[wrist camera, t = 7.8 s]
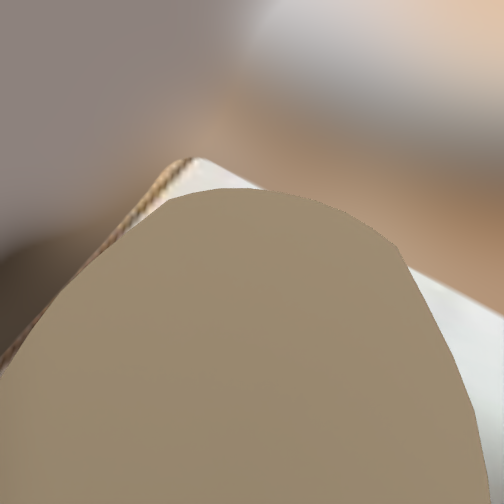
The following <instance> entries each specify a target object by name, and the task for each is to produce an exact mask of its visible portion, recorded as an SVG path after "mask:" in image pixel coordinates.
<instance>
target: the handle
mask: <svg viewBox="0 0 504 504" xmlns="http://www.w3.org/2000/svg"><path fill="white" fill-rule="evenodd" d="M0 504H491V502H490V493H489V484H488V476H487V471H486V466H485V461H484V456H483V452H482V447H481V442H480V437H479V432H478V427H477V422H476V417H475V412H474V409H473V406H472V404H471V401H470V399H469V396H468V394H467V391H466V388H465V386H464V383H463V381H462V378H461V375H460V373H459V370H458V368H457V365H456V363H455V360H454V357H453V355H452V353H451V351H450V349H449V347H448V345H447V343H446V341H445V339H444V337H443V335H442V333H441V331H440V329H439V327H438V325H437V323H436V321H435V319H434V317H433V315H432V313H431V311H430V309H429V307H428V305H427V303H426V301H425V299H424V297H423V296H422V294H421V292H420V290H419V288H418V286H417V284H416V282H415V281H414V279H413V277H412V275H411V273H410V271H409V269H408V267H407V265H406V264H405V262H404V260H403V258H402V256H401V254H400V253H399V250H398V248H397V247H396V246H395V245H394V244H393V243H391V242H390V241H388V240H387V239H386V238H385V237H383V236H382V235H381V234H379V233H378V232H377V231H375V230H374V229H373V228H371V227H369V226H368V225H366V224H364V223H363V222H361V221H359V220H358V219H356V218H354V217H353V216H351V215H349V214H348V213H346V212H343V211H340V210H338V209H335V208H333V207H330V206H328V205H325V204H323V203H320V202H317V201H315V200H311V199H306V198H302V197H299V196H295V195H290V194H286V193H282V192H275V191H267V190H259V189H251V188H221V189H213V190H207V191H202V192H196V193H191V194H187V195H184V196H180V197H177V198H173V199H169V200H168V201H166V202H165V203H164V204H163V205H161V206H160V207H159V208H158V209H156V210H155V211H154V212H152V213H151V214H150V215H149V216H147V217H146V218H145V219H144V220H142V221H141V222H140V223H138V224H137V225H136V226H135V227H133V228H132V229H131V230H130V231H128V232H127V233H126V234H125V235H123V236H122V237H121V238H120V239H118V240H117V241H116V242H115V243H114V244H112V245H111V246H110V247H109V248H107V249H106V250H105V251H104V252H103V253H101V254H100V255H99V256H98V257H97V258H95V259H94V260H93V261H92V262H91V263H90V264H88V265H87V266H86V267H85V268H84V269H83V270H82V271H81V272H80V273H79V274H78V275H77V276H76V277H75V278H74V279H73V280H72V281H71V282H70V283H69V284H68V285H67V286H66V287H65V288H64V289H63V290H62V291H61V292H60V293H59V294H58V296H57V297H56V298H55V300H54V301H53V302H52V304H51V305H50V306H49V308H48V309H47V310H46V311H45V313H44V314H43V315H42V317H41V318H40V319H39V321H38V322H37V323H36V325H35V326H34V327H33V329H32V330H31V332H30V333H29V335H28V336H27V338H26V339H25V341H24V342H23V344H22V345H21V347H20V348H19V350H18V351H17V353H16V355H15V356H14V358H13V359H12V361H11V362H10V364H9V365H8V367H7V368H6V370H5V371H4V373H3V374H2V376H1V378H0Z"/></svg>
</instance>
